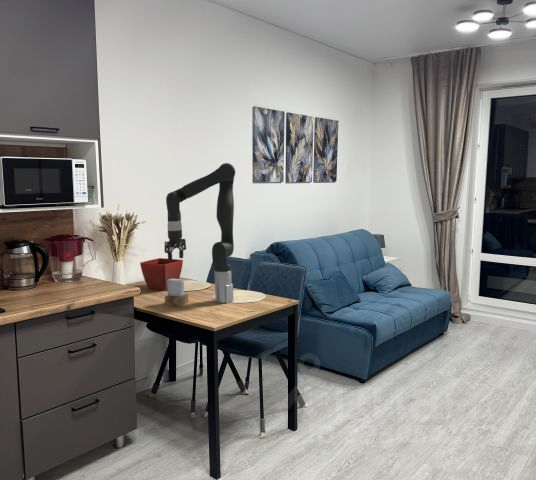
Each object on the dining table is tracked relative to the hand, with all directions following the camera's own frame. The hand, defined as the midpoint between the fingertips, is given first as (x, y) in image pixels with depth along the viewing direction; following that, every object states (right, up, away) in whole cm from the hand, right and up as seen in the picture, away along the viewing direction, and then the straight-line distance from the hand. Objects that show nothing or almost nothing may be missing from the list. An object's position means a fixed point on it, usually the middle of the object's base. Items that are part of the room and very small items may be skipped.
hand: (175, 259), depth 263 cm
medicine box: (0, -20, +1) cm, 20 cm away
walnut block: (0, -25, +2) cm, 25 cm away
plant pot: (-16, -20, +40) cm, 47 cm away
